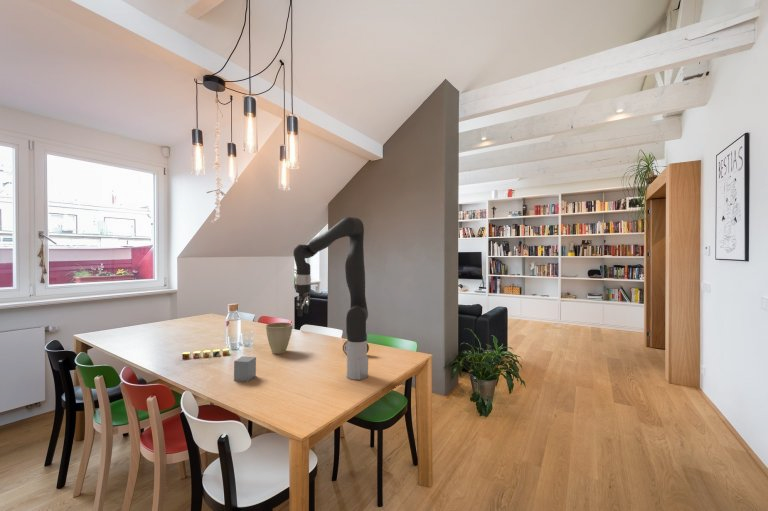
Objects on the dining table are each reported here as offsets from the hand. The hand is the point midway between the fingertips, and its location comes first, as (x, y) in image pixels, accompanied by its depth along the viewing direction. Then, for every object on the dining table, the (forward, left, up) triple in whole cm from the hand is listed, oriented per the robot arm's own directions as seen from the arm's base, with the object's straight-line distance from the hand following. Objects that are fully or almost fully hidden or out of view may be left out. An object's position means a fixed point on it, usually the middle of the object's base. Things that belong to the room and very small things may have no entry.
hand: (302, 314), depth 171 cm
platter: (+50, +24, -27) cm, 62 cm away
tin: (-10, -30, -26) cm, 41 cm away
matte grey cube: (+6, +28, -26) cm, 39 cm away
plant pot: (+28, -6, -26) cm, 39 cm away
